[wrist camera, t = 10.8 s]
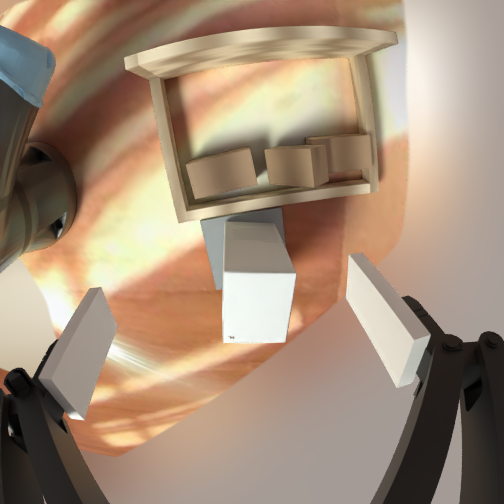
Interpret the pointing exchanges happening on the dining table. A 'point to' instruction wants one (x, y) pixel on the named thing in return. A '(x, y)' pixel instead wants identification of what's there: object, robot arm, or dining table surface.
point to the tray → (253, 51)
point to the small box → (256, 284)
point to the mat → (215, 235)
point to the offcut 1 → (221, 172)
